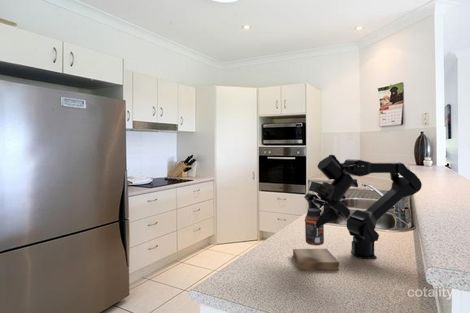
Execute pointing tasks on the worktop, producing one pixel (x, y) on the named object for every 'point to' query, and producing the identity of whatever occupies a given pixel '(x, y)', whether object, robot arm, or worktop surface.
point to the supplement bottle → (313, 228)
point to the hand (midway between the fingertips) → (310, 224)
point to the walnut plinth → (315, 259)
